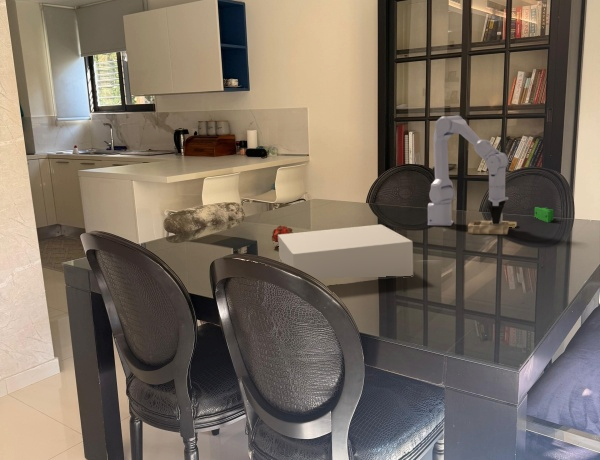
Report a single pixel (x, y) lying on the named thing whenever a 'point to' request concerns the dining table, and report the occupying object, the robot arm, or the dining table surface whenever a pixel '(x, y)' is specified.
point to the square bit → (500, 220)
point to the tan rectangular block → (512, 224)
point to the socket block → (487, 227)
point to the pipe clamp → (544, 214)
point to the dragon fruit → (280, 232)
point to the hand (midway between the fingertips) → (496, 221)
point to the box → (348, 252)
